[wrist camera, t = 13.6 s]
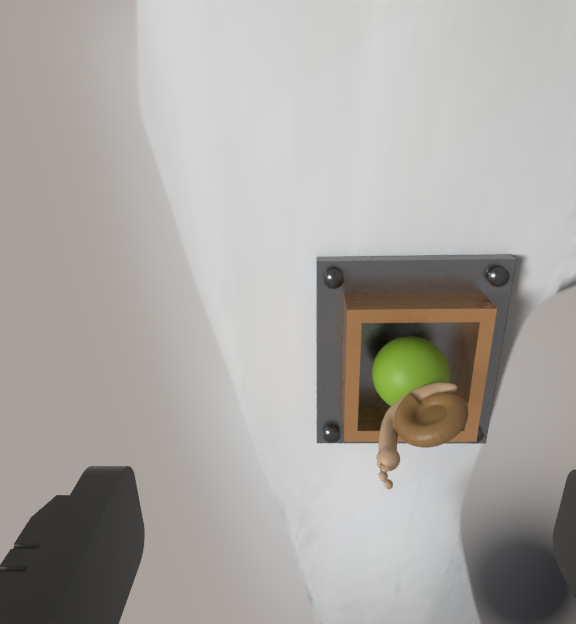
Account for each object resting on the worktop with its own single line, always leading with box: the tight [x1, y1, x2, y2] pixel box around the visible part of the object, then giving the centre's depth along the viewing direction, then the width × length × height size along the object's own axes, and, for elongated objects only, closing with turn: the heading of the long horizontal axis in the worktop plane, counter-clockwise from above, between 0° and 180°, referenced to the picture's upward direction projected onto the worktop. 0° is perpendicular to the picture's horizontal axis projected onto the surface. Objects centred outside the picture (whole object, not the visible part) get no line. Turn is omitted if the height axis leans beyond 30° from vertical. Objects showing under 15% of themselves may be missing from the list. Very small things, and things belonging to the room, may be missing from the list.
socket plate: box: [317, 255, 516, 443], centre depth 38 cm, size 16×14×4 cm
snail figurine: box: [372, 336, 469, 489], centre depth 33 cm, size 5×6×12 cm
